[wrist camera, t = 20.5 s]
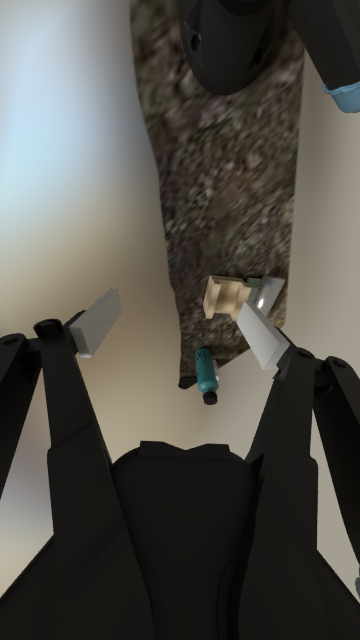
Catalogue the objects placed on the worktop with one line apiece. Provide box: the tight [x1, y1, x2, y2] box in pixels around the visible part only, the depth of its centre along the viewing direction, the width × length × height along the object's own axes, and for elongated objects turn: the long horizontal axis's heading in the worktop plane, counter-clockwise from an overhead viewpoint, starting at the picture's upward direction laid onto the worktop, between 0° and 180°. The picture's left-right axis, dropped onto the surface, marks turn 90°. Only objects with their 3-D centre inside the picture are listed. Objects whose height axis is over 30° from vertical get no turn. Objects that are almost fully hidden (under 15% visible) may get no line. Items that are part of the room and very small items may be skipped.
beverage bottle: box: [195, 348, 218, 405], centre depth 50 cm, size 6×7×20 cm
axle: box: [252, 274, 285, 318], centre depth 41 cm, size 14×5×5 cm, turn 174°
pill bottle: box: [212, 359, 219, 380], centre depth 59 cm, size 4×4×8 cm
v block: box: [246, 278, 262, 301], centre depth 44 cm, size 9×7×4 cm
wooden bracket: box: [203, 275, 251, 321], centre depth 42 cm, size 10×9×8 cm
